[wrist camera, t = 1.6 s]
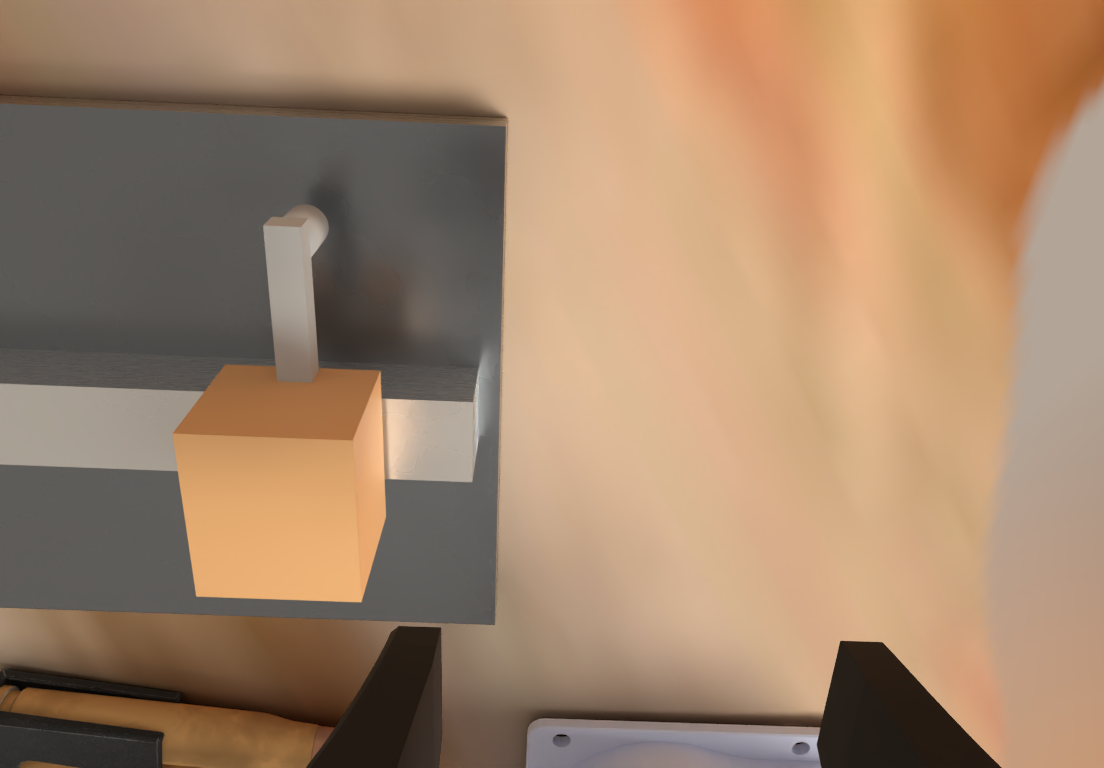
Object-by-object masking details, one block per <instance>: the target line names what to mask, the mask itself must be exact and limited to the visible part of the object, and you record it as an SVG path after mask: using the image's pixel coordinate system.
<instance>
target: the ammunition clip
mask: <svg viewBox="0 0 1104 768" xmlns="http://www.w3.org/2000/svg"><path fill="white" fill-rule="evenodd" d="M333 730H334V728H333V727H325V726H319V725H318V724H311V723H304V722H297V721H291V720H288V719H285V718H282V717H279V716H275V715H272V714H268V713H263V712H255V711H246V710H237V709H227V708H218V707H208V706H199V705H190V704H182V694H181V693H180V692H174V691H166V690H159V689H151V688H143V687H136V686H128V685H121V684H113V683H105V682H98V681H90V680H82V679H75V678H67V677H60V676H52V675H44V674H37V673H29V672H22V671H14V670H6V669H2V671H1V672H0V768H306V767H307V765H308V764H309V763H310V761H311V760H312V759H313V757H314V756H315V755H316V753H317V752H318V751H319V749H320V748H321V747H322V745H323V744H324V743H325V741H326V740H327V738H328V737H329V736H330V734H331V733H332V731H333Z"/></svg>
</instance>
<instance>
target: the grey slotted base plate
mask: <svg viewBox="0 0 1104 768" xmlns="http://www.w3.org/2000/svg"><path fill="white" fill-rule="evenodd" d="M507 137H508V118H499V117H476V116H454V115H432V114H410V113H387V112H365V111H343V110H321V109H299V108H276V107H254V106H232V105H210V104H188V103H165V102H143V101H121V100H99V99H76V98H54V97H32V96H10V95H0V608H29V609H57V610H86V611H114V612H143V613H171V614H200V615H228V616H257V617H285V618H314V619H342V620H371V621H399V622H428V623H456V624H485V625H495V616H496V604H497V569H498V526H499V482H500V439H501V396H502V353H503V310H504V267H505V224H506V181H507ZM301 204H308V205H312V206H314V207H316V208H318V209H319V210H320V211H322V213H323V214H324V215H325V217H326V218H327V221H328V225H329V231H328V235H327V237H326V239H325V240H324V241H323V243H322V244H321V245H320V247H319V248H318V249H317V251H316V252H315V253H314V255H313V256H312V257H311V263H312V277H313V292H314V306H315V321H316V335H317V350H318V364H319V368H327V369H352V370H377V371H381V398H382V424H383V450H384V477H385V503H386V519H385V522H384V525H383V529H382V532H381V536H380V539H379V543H378V546H377V550H376V553H375V557H374V560H373V564H372V567H371V571H370V574H369V578H368V581H367V585H366V588H365V592H364V595H363V599H362V602H336V601H308V600H280V599H251V598H223V597H196V591H195V584H194V578H193V571H192V564H191V557H190V550H189V544H188V537H187V530H186V523H185V516H184V510H183V503H182V496H181V489H180V482H179V476H178V469H177V462H176V455H175V448H174V442H173V435H172V433H173V432H174V431H175V429H176V428H177V427H178V426H179V424H180V423H181V422H182V420H183V419H184V418H185V416H186V415H187V414H188V412H189V411H190V410H191V409H192V407H193V406H194V405H195V403H196V402H197V401H198V399H199V398H200V397H201V396H202V394H203V393H204V392H205V390H206V389H207V388H208V386H209V385H210V384H211V382H212V381H213V380H214V379H215V377H216V376H217V375H218V373H219V372H220V371H221V369H222V368H223V367H224V366H225V364H227V365H252V366H276V364H275V352H274V341H273V330H272V319H271V308H270V297H269V286H268V275H267V264H266V253H265V242H264V231H263V225H264V224H265V223H266V222H267V221H268V220H269V219H270V218H271V217H284V216H285V214H286V213H287V212H288V211H289V210H290V209H292V208H293V207H295V206H297V205H301Z"/></svg>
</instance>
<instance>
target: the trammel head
mask: <svg viewBox="0 0 1104 768" xmlns="http://www.w3.org/2000/svg"><path fill="white" fill-rule="evenodd" d="M263 231H264V242H265V253H266V264H267V275H268V286H269V297H270V308H271V319H272V330H273V341H274V352H275V364H276V366H252V365H227V364H225V366H224V367H223V368H222V369H221V371H220V372H219V373H218V375H217V376H216V377H215V379H214V380H213V381H212V382H211V384H210V385H209V386H208V388H207V389H206V390H205V392H204V393H203V394H202V396H201V397H200V398H199V399H198V401H197V402H196V403H195V405H194V406H193V407H192V409H191V410H190V411H189V412H188V414H187V415H186V416H185V418H184V419H183V420H182V422H181V423H180V424H179V426H178V427H177V428H176V429H175V431H174V432H173V433H172V435H173V442H174V448H175V455H176V462H177V469H178V476H179V482H180V489H181V496H182V503H183V510H184V516H185V523H186V530H187V537H188V544H189V550H190V557H191V564H192V571H193V578H194V584H195V591H196V597H223V598H251V599H280V600H308V601H336V602H362V599H363V595H364V592H365V588H366V585H367V581H368V578H369V574H370V571H371V567H372V564H373V560H374V557H375V553H376V550H377V546H378V543H379V539H380V536H381V532H382V529H383V525H384V522H385V519H386V503H385V477H384V450H383V424H382V398H381V371H377V370H352V369H327V368H319V364H318V350H317V335H316V321H315V306H314V292H313V277H312V263H311V257H312V256H313V255H314V253H315V252H316V251H317V249H318V248H319V247H320V245H321V244H322V243H323V241H324V240H325V239H326V237H327V235H328V231H329V225H328V221H327V218H326V217H325V215H324V214H323V213H322V211H320V210H319V209H318V208H316V207H314V206H312V205H308V204H301V205H297V206H295V207H293V208H292V209H290V210H289V211H288V212H287V213H286V214H285V216H284V217H271V218H270V219H269V220H268V221H267V222H266V223H265V224H264V225H263Z"/></svg>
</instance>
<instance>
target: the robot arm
mask: <svg viewBox="0 0 1104 768" xmlns="http://www.w3.org/2000/svg"><path fill="white" fill-rule="evenodd" d="M558 734H565V735H567V736H565V737H558V736H556V735H558ZM441 740H442V663H441V628H438V627H408V626H398V627H397V628H396V629H395V630H393V631H392V632H391V633H390V636H389V638H388V640H387V642H386V644H385V646H384V648H383V650H382V652H381V654H380V656H379V658H378V659H377V661H376V663H375V665H374V667H373V668H372V670H371V672H370V674H369V675H368V677H367V679H366V680H365V682H364V684H363V685H362V687H361V689H360V690H359V692H358V693H357V695H356V697H355V698H354V700H353V701H352V703H351V704H350V706H349V707H348V709H347V710H346V712H345V713H344V715H343V716H342V718H341V719H340V721H339V722H338V724H337V725H336V727H335V728H334V730H333V731H332V733H331V734H330V736H329V737H328V738H327V740H326V741H325V743H324V744H323V745H322V747H321V748H320V749H319V751H318V752H317V753H316V755H315V756H314V757H313V759H312V760H311V761H310V763H309V764H308V765H307V767H306V768H439V760H440V750H441ZM798 742H804V743H802V744H798V745H795V744H796V743H798ZM526 768H1001V767H1000V766H999V765H998V764H997V763H996V762H995V761H994V760H993V759H992V758H991V757H990V756H989V755H988V754H987V753H986V752H985V751H984V750H983V749H982V748H981V747H980V746H979V745H978V744H977V743H976V742H975V741H974V740H973V739H972V738H971V737H970V736H969V735H968V734H967V733H966V732H965V730H964V729H963V728H962V727H961V726H960V725H959V724H958V723H957V722H956V721H955V720H954V719H953V718H952V717H951V716H950V715H949V714H948V713H947V712H946V710H945V709H944V708H943V707H942V706H941V705H940V704H939V703H938V702H937V701H936V700H935V699H934V698H933V697H932V695H931V694H930V693H929V692H928V691H927V690H926V689H925V688H924V687H923V686H922V685H921V684H920V682H919V681H918V680H917V679H916V678H915V677H914V676H913V675H912V674H911V673H910V671H909V670H908V669H907V668H906V667H905V666H904V665H903V664H902V663H901V662H900V661H899V659H898V658H897V657H896V656H895V655H894V654H893V653H892V652H891V651H890V650H889V649H888V648H887V647H886V646H885V645H884V643H883V642H857V641H840V645H839V650H838V654H837V658H836V663H835V667H834V671H833V675H832V680H831V684H830V688H829V693H828V697H827V701H826V706H825V710H824V714H823V719H822V723H821V727H792V726H762V725H732V724H701V723H671V722H641V721H611V720H581V719H551V718H543V719H538V720H535V721H533V722H532V723H531V724H530V725H529V727H528V730H527V753H526Z"/></svg>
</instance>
